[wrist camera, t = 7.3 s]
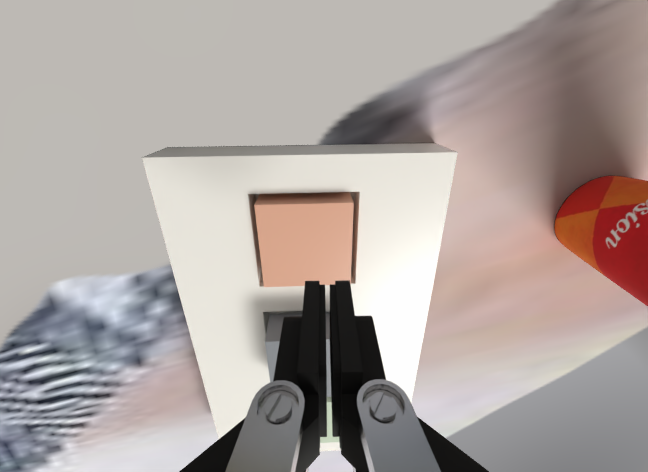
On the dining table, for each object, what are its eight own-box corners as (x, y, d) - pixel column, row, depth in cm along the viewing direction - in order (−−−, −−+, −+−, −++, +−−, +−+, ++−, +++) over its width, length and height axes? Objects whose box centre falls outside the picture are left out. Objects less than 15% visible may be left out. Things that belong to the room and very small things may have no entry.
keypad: (435, 143, 18) (457, 152, 15) (394, 414, 29) (402, 446, 27) (167, 147, 17) (141, 157, 15) (231, 422, 29) (223, 456, 26)
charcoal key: (347, 311, 20) (352, 338, 18) (345, 366, 22) (349, 396, 20) (269, 314, 20) (264, 341, 18) (275, 369, 22) (272, 399, 20)
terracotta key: (348, 189, 18) (353, 202, 16) (346, 263, 20) (350, 284, 18) (261, 191, 18) (254, 205, 15) (268, 265, 20) (264, 287, 18)
